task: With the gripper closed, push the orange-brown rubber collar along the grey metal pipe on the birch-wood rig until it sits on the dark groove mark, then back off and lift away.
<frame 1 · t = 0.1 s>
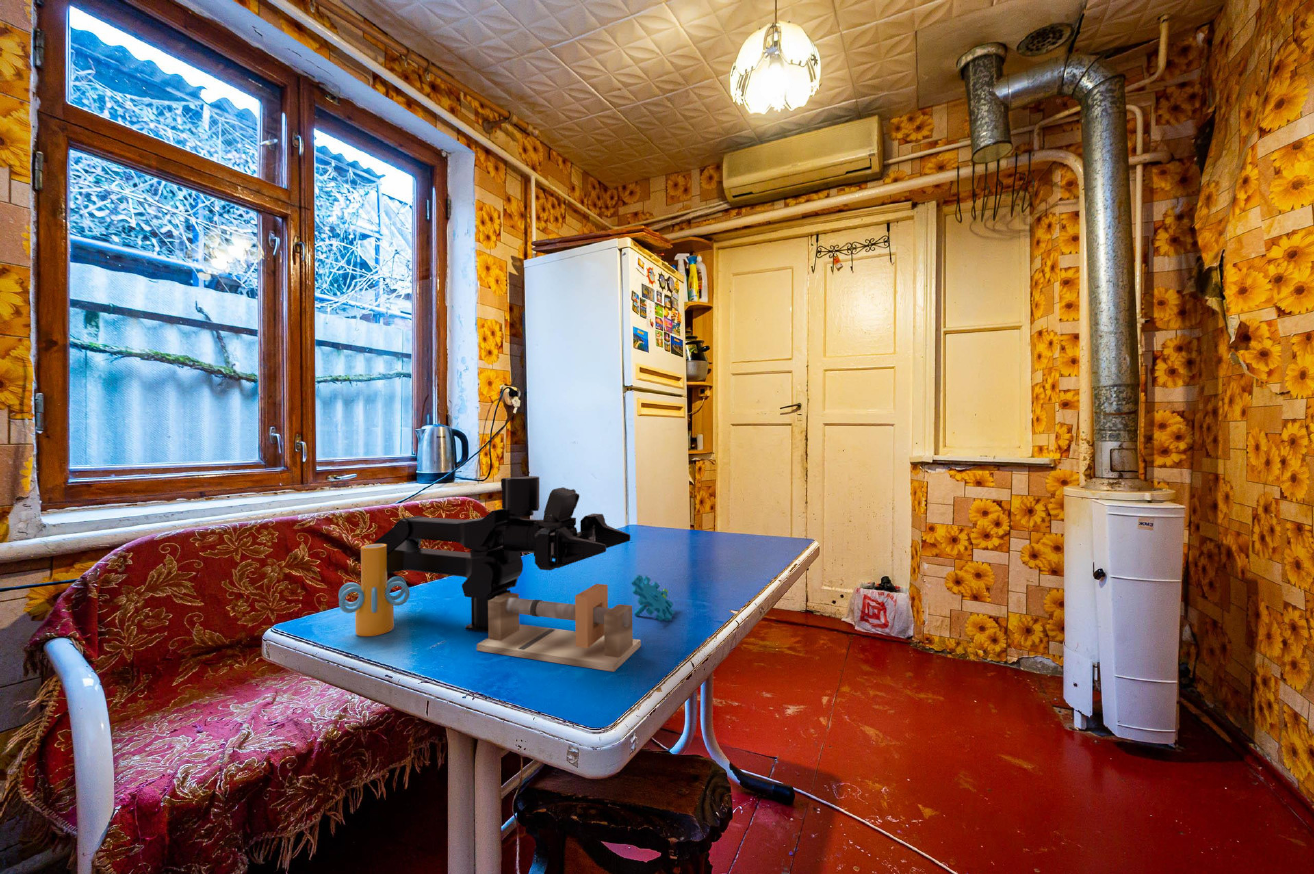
hand: (618, 542, 87), 16 cm above the table, tool horizontal, fingers open, 9 cm apart
cylinder: (375, 632, 94), on the table, touching arm
collar: (592, 614, 83), point 6 cm above the table, slide at 6.0 cm
gear: (654, 618, 100), on the table
pipe rig: (559, 648, 85), on the table
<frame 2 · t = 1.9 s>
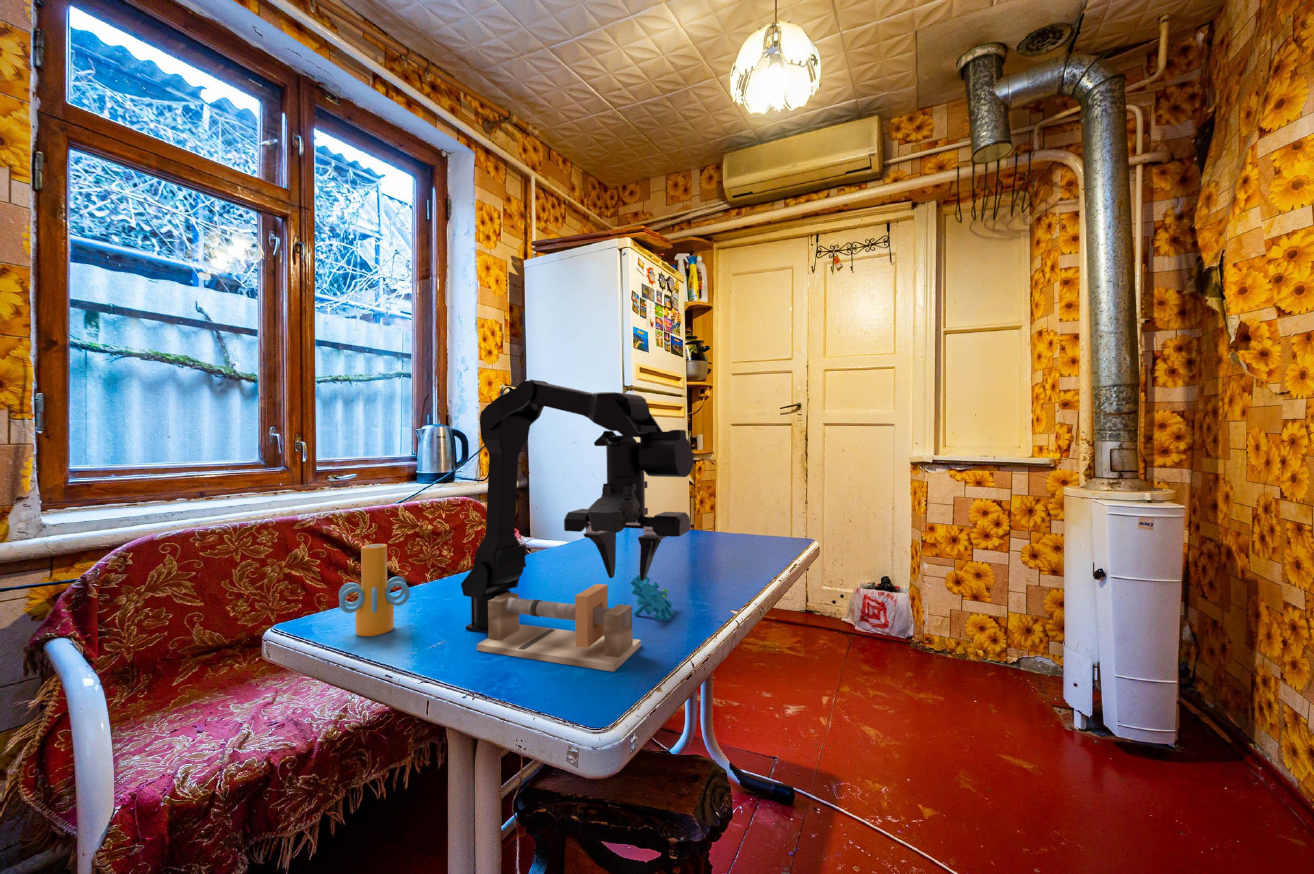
hand: (627, 578, 81), 12 cm above the table, tool pointing down, fingers open, 5 cm apart
cylinder: (375, 632, 94), on the table
everything else where it was.
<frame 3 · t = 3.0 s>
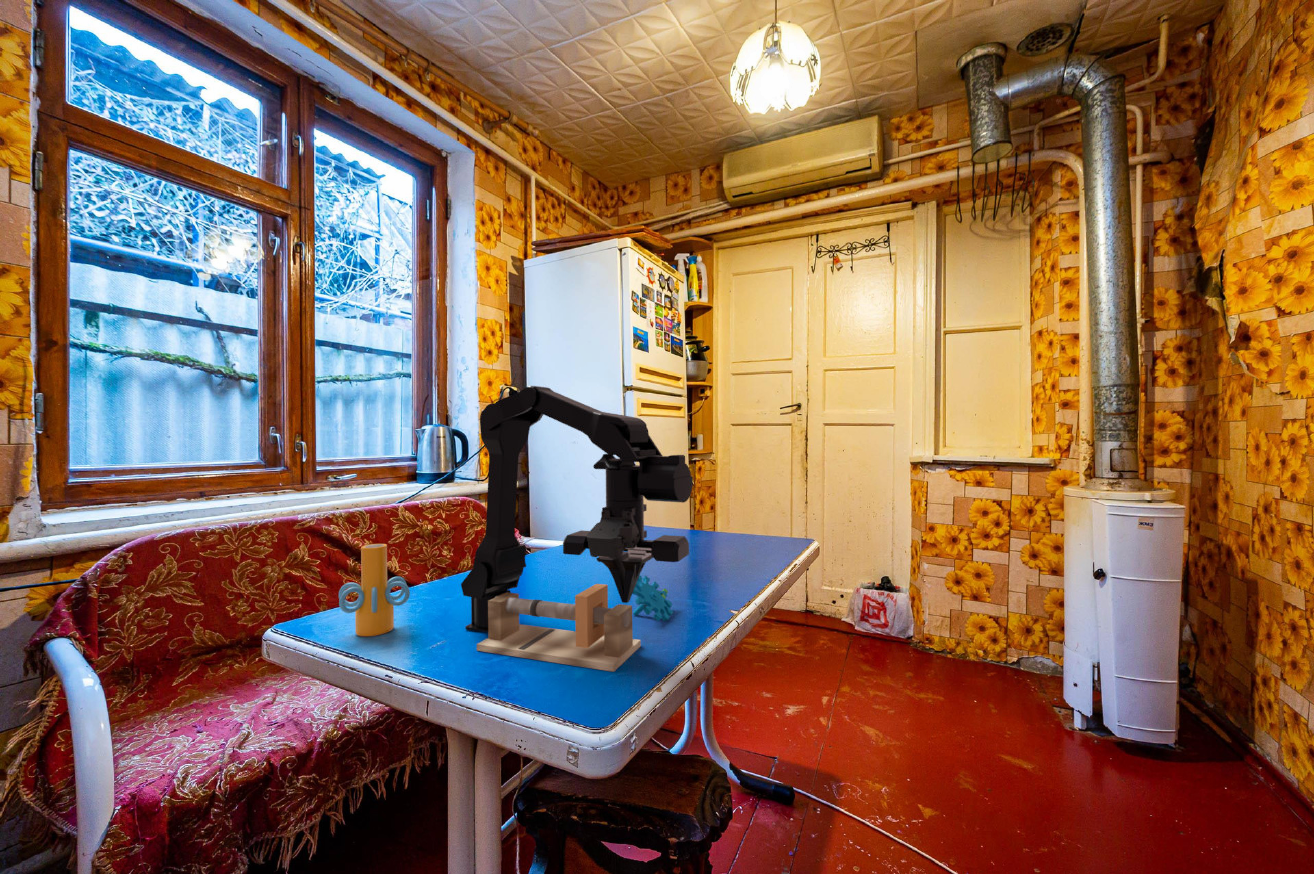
hand: (625, 602, 81), 8 cm above the table, tool pointing down, fingers closed
nothing on the table moved.
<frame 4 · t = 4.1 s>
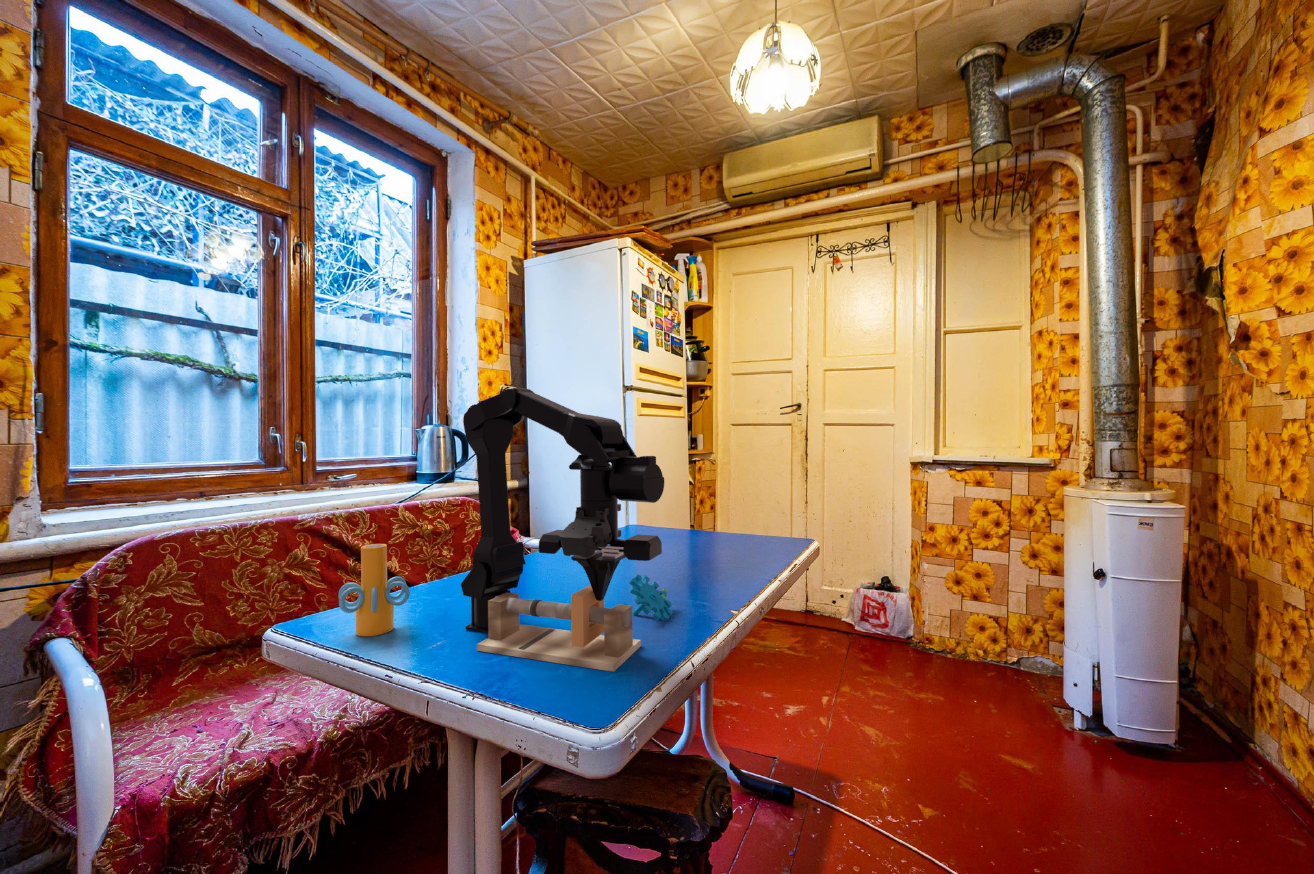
hand: (600, 600, 83), 8 cm above the table, tool pointing down, fingers closed
collar: (588, 614, 83), point 6 cm above the table, slide at 5.3 cm, touching gripper
everything else where it was.
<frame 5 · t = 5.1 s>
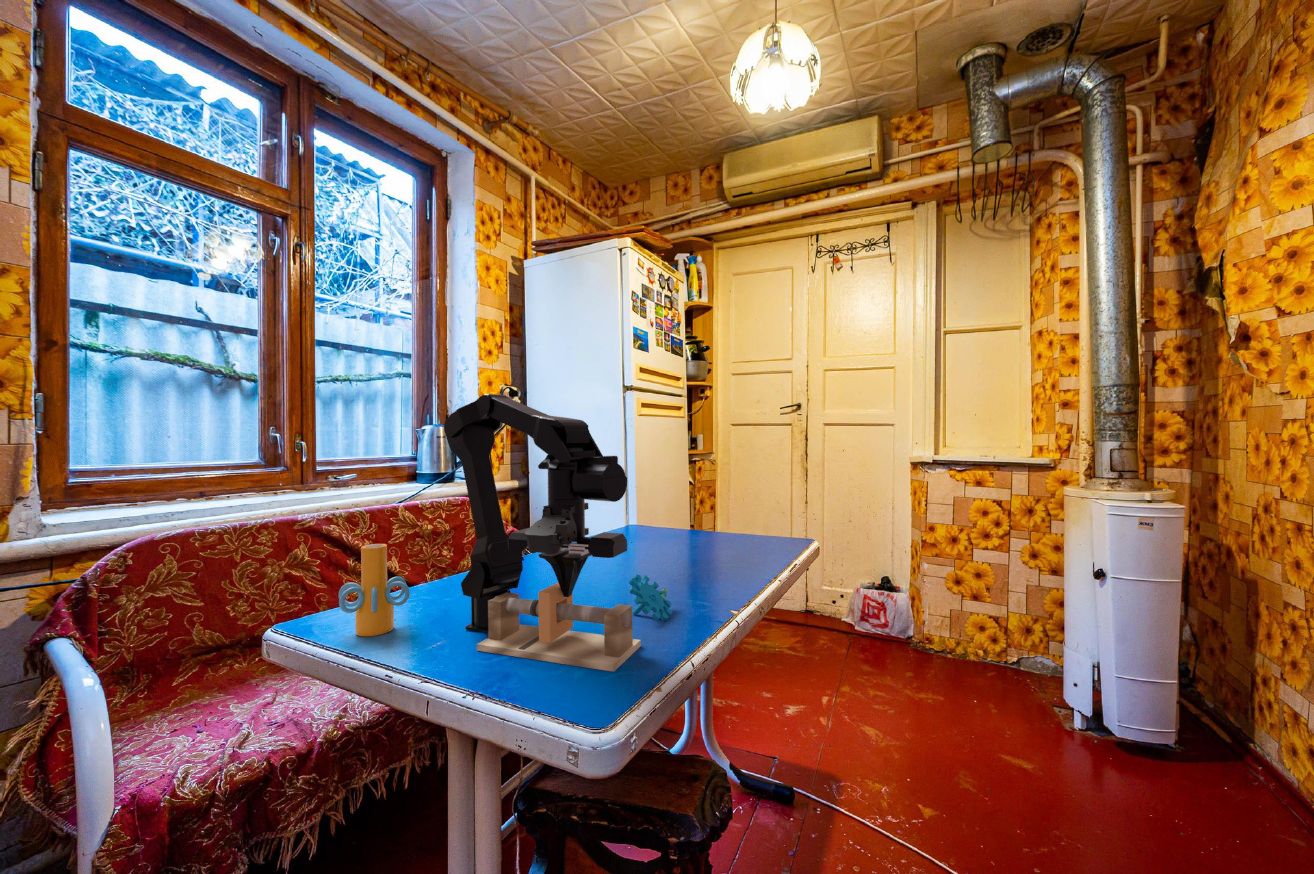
hand: (567, 596, 85), 8 cm above the table, tool pointing down, fingers closed
collar: (556, 610, 85), point 6 cm above the table, slide at -0.5 cm, touching gripper
everything else where it was.
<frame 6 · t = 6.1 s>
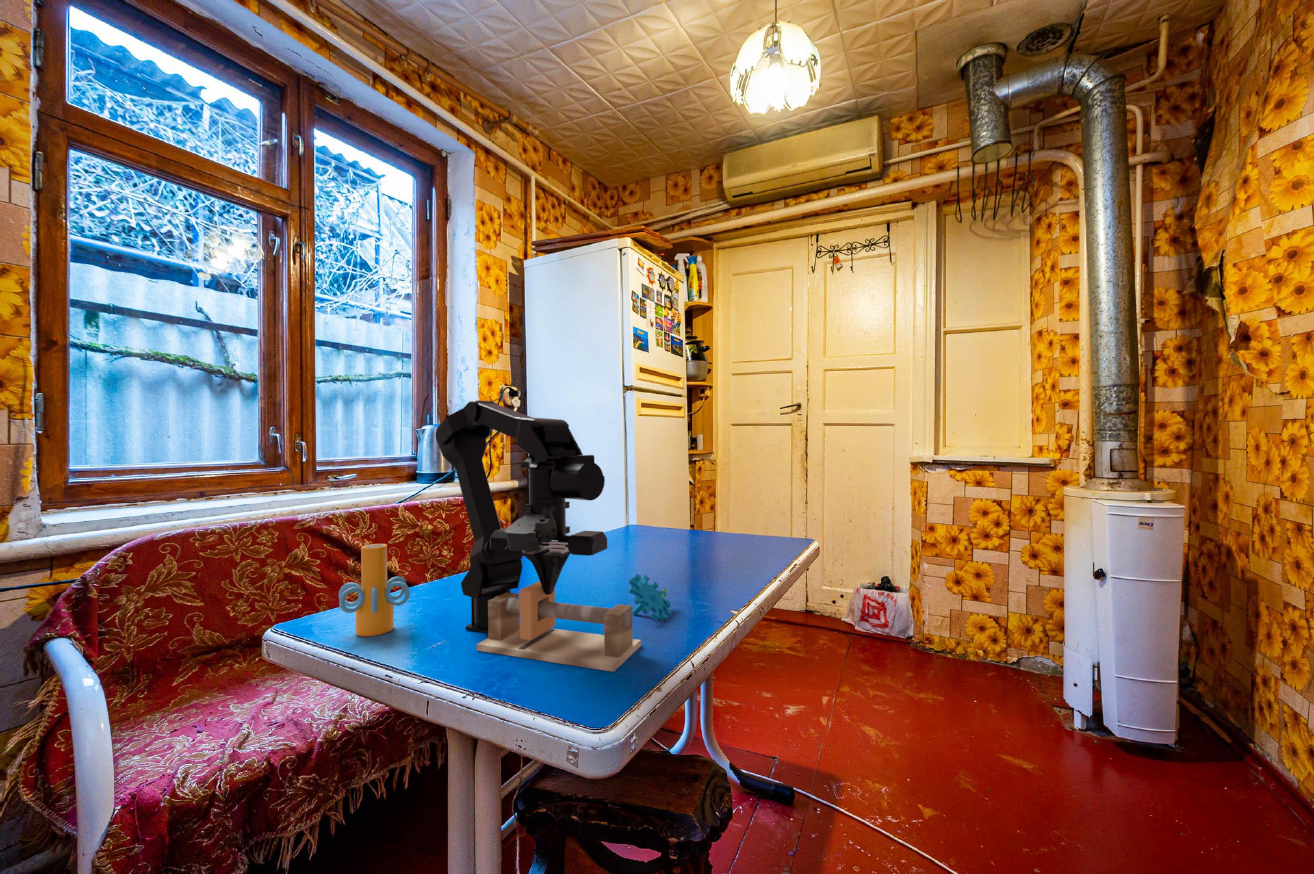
hand: (548, 594, 86), 8 cm above the table, tool pointing down, fingers closed
collar: (538, 608, 87), point 6 cm above the table, slide at -3.8 cm, touching gripper
everything else where it was.
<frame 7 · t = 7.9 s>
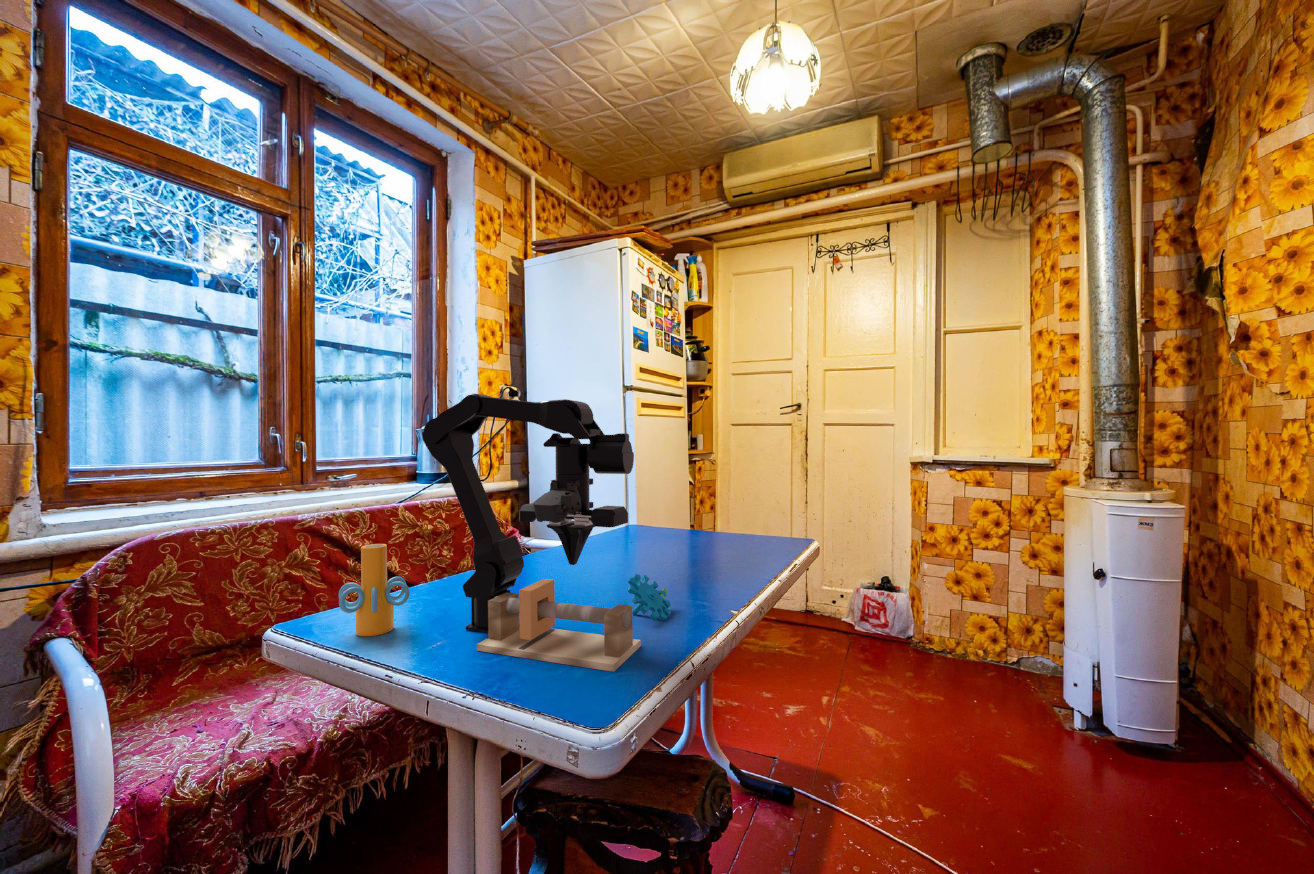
hand: (573, 564, 92), 12 cm above the table, tool pointing down, fingers closed
collar: (537, 608, 87), point 6 cm above the table, slide at -3.9 cm
everything else where it was.
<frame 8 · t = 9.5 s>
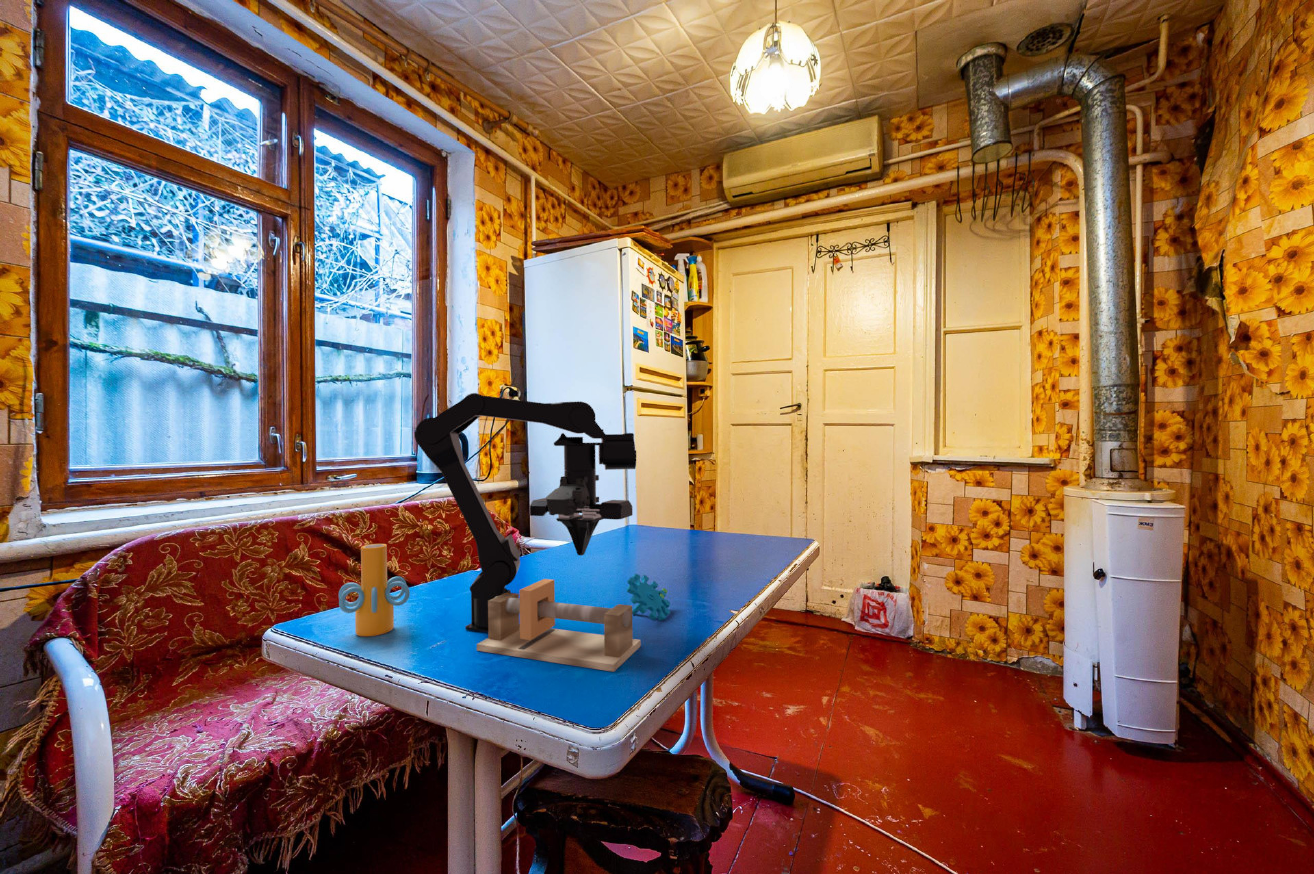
hand: (581, 555, 98), 12 cm above the table, tool pointing down, fingers closed
at the end: collar slide at -3.9 cm; gear moved 1.0 cm from its start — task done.
